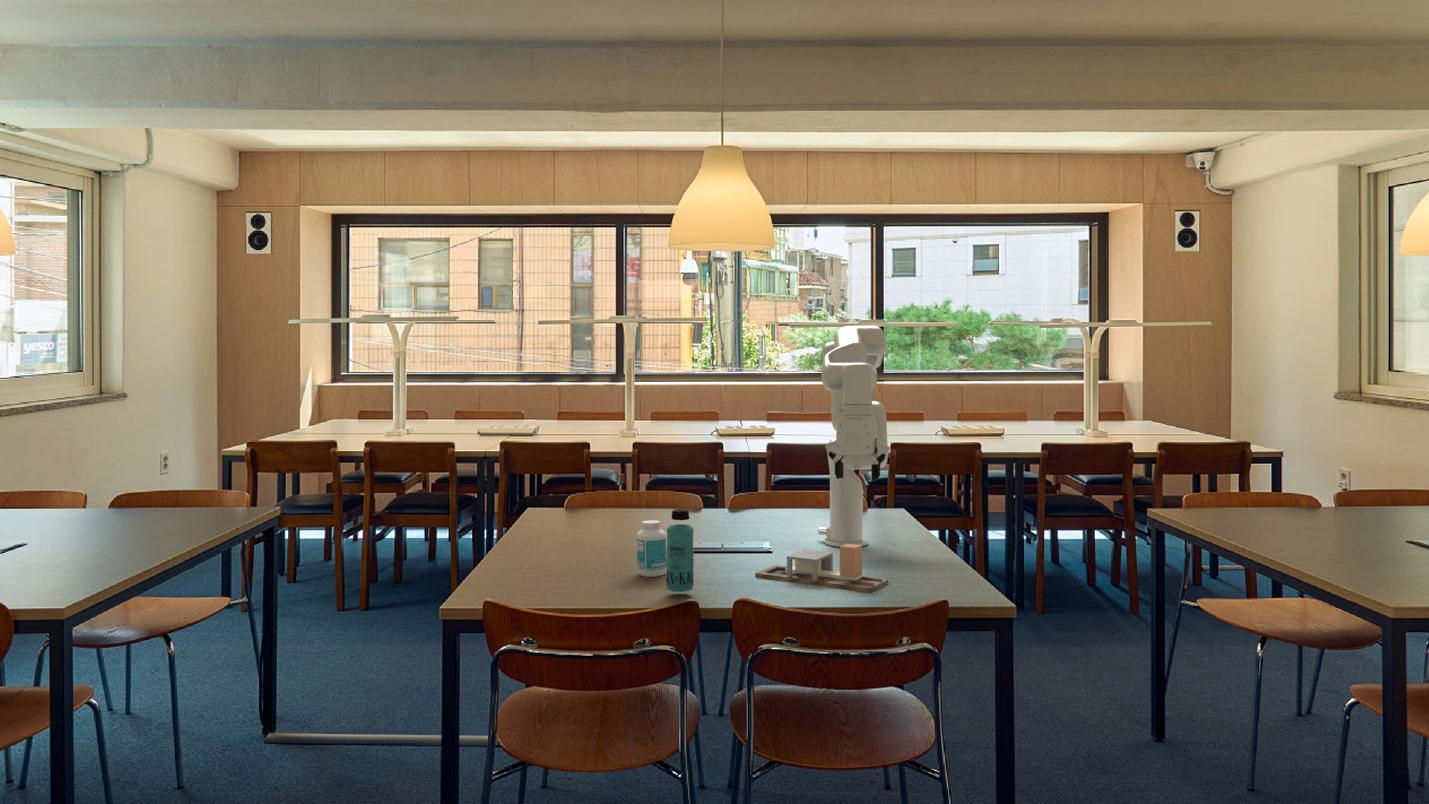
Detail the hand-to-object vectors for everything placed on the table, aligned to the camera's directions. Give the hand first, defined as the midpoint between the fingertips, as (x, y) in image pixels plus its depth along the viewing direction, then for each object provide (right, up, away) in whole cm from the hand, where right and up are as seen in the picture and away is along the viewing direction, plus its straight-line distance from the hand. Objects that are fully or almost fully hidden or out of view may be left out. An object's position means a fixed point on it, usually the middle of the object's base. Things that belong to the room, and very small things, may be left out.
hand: (857, 479), depth 249 cm
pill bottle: (-52, -25, +1) cm, 58 cm away
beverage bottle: (-44, -26, -21) cm, 55 cm away
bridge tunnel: (-12, -23, -5) cm, 27 cm away
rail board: (-10, -25, -6) cm, 27 cm away
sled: (-9, -23, -6) cm, 26 cm away
